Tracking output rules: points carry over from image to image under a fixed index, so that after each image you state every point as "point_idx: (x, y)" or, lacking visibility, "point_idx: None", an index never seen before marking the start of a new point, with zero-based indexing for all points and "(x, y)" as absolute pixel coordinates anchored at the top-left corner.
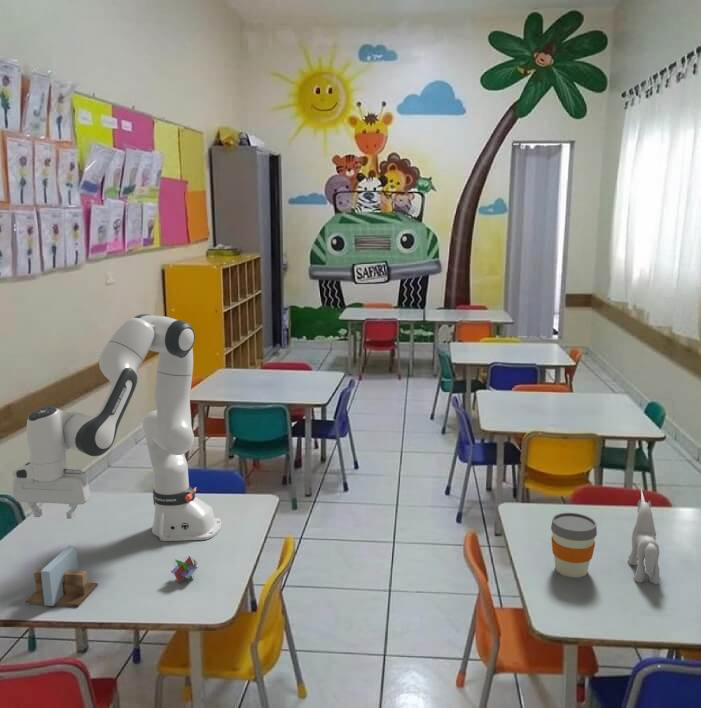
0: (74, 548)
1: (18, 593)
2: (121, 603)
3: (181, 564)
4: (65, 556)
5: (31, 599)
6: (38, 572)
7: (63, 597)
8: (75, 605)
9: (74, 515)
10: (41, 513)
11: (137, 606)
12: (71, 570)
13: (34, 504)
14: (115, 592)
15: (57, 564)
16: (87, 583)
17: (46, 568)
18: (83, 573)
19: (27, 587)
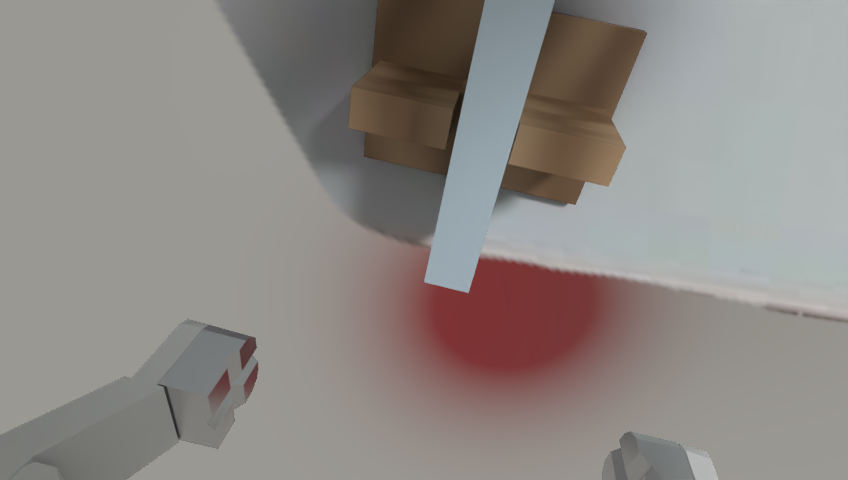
0: (547, 25)
1: (300, 71)
2: (753, 195)
3: None
4: (510, 148)
5: (381, 148)
6: (370, 130)
7: None
8: (564, 199)
9: (703, 468)
10: (243, 359)
11: (820, 224)
12: (539, 129)
13: (67, 465)
14: (733, 106)
15: (486, 227)
16: (612, 122)
17: (443, 264)
18: (612, 170)
19: (311, 21)
